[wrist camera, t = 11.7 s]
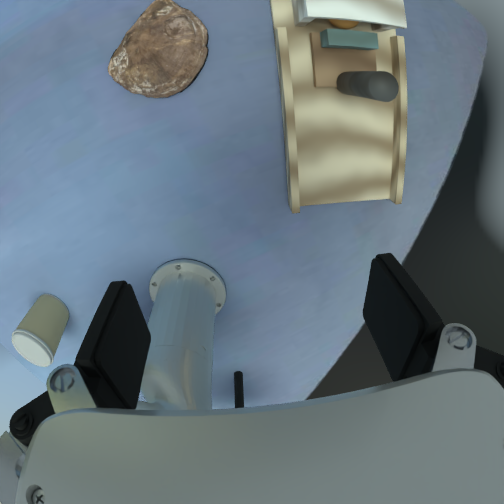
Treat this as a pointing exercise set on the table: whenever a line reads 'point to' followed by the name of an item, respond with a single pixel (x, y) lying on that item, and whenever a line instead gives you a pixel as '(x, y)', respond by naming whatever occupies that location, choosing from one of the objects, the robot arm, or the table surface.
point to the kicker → (350, 64)
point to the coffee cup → (41, 330)
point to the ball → (344, 23)
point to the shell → (160, 51)
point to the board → (340, 107)
